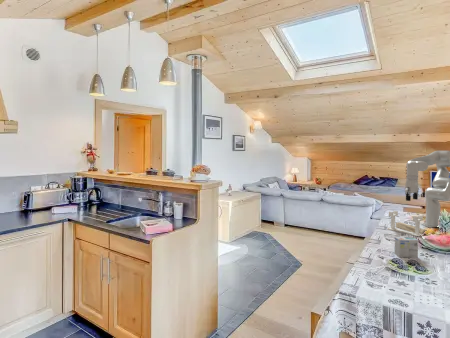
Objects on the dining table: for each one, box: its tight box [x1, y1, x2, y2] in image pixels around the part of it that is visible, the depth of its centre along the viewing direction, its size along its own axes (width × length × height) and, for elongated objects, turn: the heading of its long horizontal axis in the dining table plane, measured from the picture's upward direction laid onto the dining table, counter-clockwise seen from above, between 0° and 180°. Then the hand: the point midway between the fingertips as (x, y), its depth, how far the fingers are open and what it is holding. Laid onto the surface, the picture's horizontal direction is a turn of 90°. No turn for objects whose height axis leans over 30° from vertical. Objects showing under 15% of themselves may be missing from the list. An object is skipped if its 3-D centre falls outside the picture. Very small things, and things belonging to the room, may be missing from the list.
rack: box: [387, 210, 424, 237], centre depth 222 cm, size 7×23×14 cm, turn 30°
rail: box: [395, 221, 428, 234], centre depth 226 cm, size 4×24×4 cm, turn 14°
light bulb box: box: [394, 236, 419, 259], centre depth 175 cm, size 11×7×11 cm, turn 84°
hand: (411, 200), depth 225 cm, fingers open, 9 cm apart
